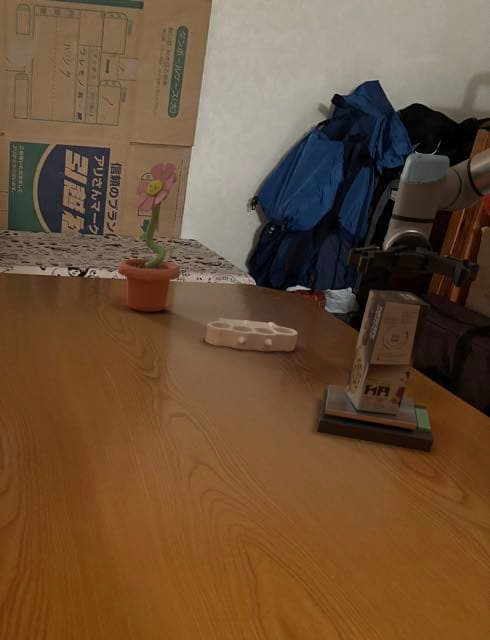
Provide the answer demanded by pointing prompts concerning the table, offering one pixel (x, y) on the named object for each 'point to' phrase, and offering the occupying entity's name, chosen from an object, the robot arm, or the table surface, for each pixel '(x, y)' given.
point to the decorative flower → (151, 274)
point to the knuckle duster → (250, 335)
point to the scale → (379, 429)
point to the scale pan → (344, 407)
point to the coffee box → (386, 350)
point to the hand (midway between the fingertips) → (414, 272)
